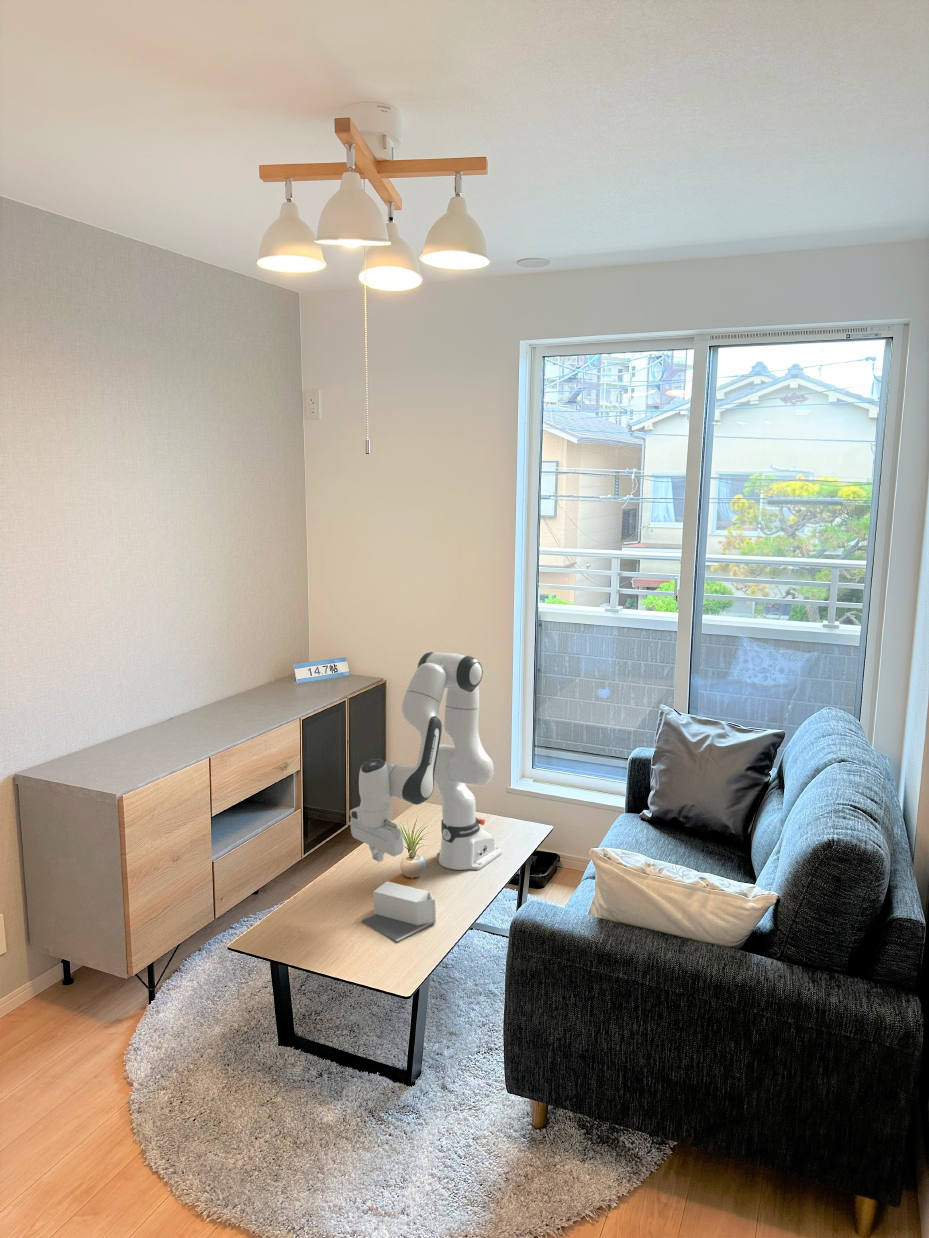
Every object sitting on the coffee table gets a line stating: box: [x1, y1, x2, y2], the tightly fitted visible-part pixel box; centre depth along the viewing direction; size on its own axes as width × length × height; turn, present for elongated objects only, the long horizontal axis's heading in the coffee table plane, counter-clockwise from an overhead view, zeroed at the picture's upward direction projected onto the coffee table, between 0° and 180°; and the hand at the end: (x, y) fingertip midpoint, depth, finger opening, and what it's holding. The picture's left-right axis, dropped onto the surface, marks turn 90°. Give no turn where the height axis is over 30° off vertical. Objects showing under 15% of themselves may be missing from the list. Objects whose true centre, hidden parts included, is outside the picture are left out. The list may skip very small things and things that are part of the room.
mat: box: [361, 914, 436, 944], centre depth 239 cm, size 14×16×1 cm
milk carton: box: [373, 881, 437, 926], centre depth 241 cm, size 7×7×19 cm
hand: (377, 859), depth 243 cm, fingers closed
